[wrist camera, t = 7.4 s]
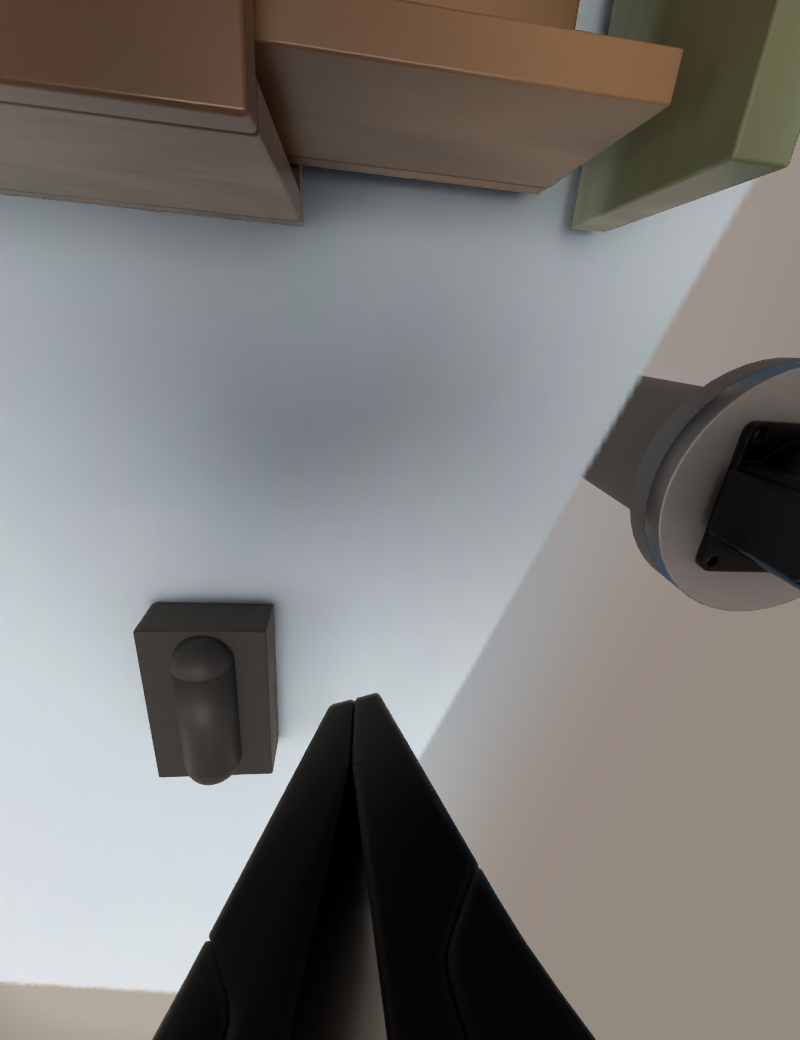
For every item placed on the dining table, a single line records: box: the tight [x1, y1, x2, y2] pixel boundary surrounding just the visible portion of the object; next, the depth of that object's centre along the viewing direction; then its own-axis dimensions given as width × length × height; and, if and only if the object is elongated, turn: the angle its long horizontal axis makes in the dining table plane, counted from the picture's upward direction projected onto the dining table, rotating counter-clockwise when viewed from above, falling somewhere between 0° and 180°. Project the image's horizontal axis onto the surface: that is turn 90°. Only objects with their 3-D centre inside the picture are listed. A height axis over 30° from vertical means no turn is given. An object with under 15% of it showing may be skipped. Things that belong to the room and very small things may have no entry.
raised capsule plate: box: [133, 603, 278, 785], centre depth 20 cm, size 8×5×3 cm, turn 175°
